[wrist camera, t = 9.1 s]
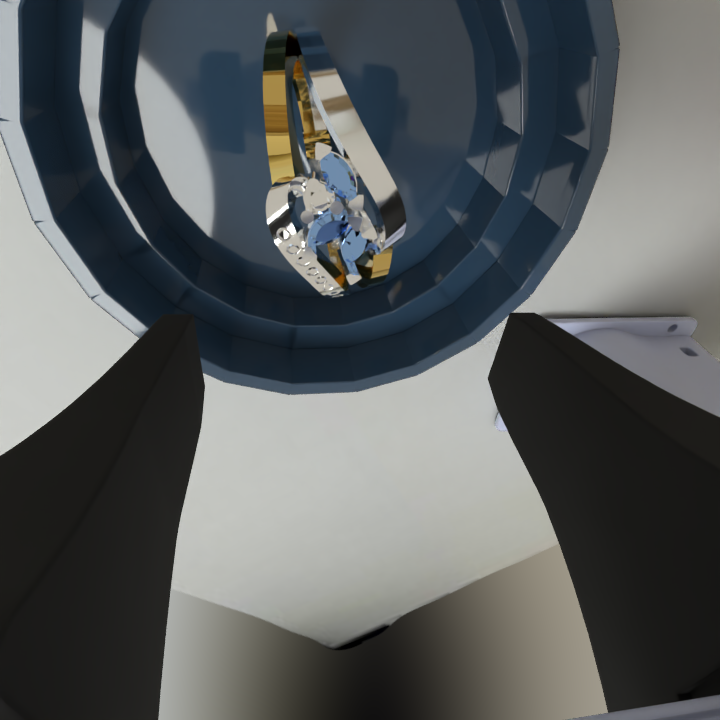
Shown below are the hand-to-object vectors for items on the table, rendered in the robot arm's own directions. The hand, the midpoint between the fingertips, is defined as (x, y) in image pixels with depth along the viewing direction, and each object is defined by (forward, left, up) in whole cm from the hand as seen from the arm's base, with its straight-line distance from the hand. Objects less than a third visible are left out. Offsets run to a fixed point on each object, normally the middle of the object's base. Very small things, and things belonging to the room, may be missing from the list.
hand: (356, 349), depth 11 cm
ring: (0, -2, -9) cm, 10 cm away
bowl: (0, -2, -10) cm, 10 cm away
